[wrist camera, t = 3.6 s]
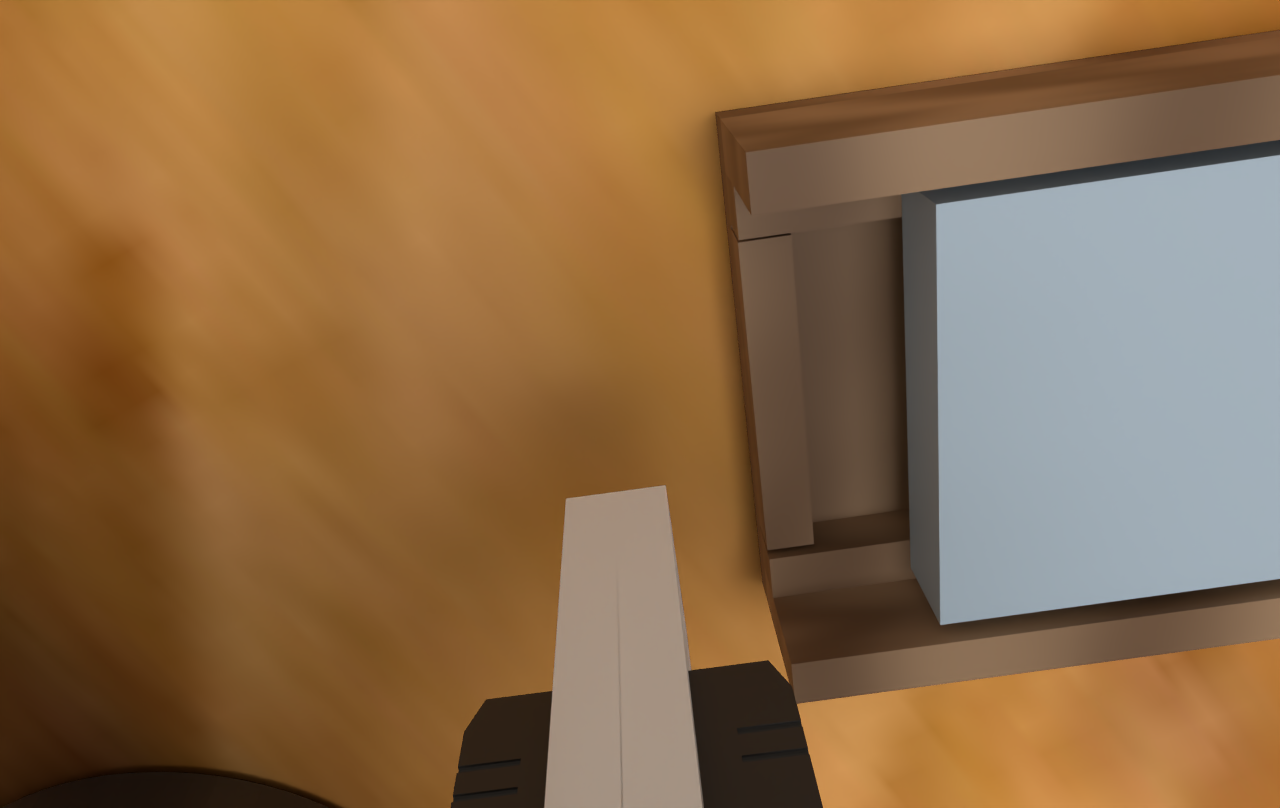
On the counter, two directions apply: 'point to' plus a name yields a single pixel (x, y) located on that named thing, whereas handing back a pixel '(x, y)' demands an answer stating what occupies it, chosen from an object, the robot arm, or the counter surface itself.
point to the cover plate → (1094, 383)
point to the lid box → (875, 346)
